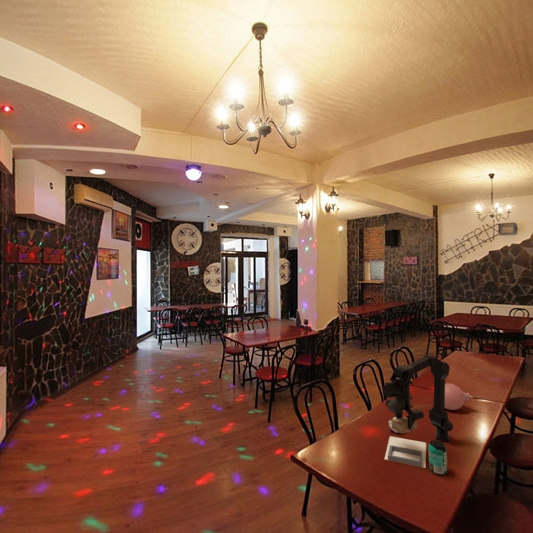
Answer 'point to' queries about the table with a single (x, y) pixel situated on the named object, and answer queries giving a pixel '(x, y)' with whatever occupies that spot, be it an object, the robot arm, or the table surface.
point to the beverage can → (437, 458)
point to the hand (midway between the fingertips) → (404, 426)
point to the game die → (391, 424)
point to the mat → (406, 451)
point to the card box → (403, 425)
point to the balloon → (455, 397)
